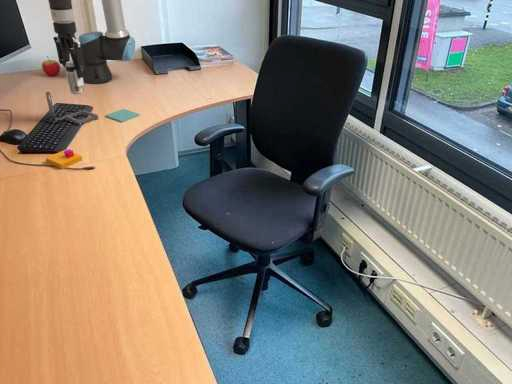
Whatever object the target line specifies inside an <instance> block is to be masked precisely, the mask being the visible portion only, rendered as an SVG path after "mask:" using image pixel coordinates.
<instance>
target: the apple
mask: <svg viewBox="0 0 512 384" xmlns="http://www.w3.org/2000/svg"><path fill="white" fill-rule="evenodd" d="M46 57H47V59H48V60H44V61H42V62H41V68H42V70H43V72H44V74H46V75H47V76H49V77H55V76H58V75H59V73H60V71H61V66H60V65H61V64H60V63H59V61H56V60H53V59H51V60H50V59H49V57H48V55H46Z"/></svg>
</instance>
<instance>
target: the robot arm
mask: <svg viewBox="0 0 512 384" xmlns="http://www.w3.org/2000/svg"><path fill="white" fill-rule="evenodd" d="M47 1H48V5H49V10H50V15H51V20H52V21H53V23H52V26H53V30H54V31H53V32H54V33H55V34H57V36H54V37H53V42H54V43H55V48H56V53H57V57H58V63H59V65H62V66H63V67H64V72H65V75H66V76H65V77H66V81H67V84H69V81H68V76H67V71H66V66H65V65H66V62H69V61H73V64H74V67H75V69H74V74H75V79H76V84H77V87H79V86H84V85H85V84H90V85H99V84H100V85H101V84H106V83H109V82H108V81H110V80H111V81H113V79H112V78H113V73H112V72H111V70H110V68H109V65H108V63H107V62H108V61H115V62H131V61H132V60H133V58H134V57H135V51H136V41H135V38H134V37H133V36H130V35H131V34H130V31H128V30H127V29H126V25H125V19H124V11H123V6H122V0H101V5H102V9H103V15H104V19H105V20H104V21H105V25H106V31H105V33H104V32H103V31H89V32H85V33H81V34H80V35H78V40H77V38H76V35H75V34H76V33H77V31H78V29H77V25H76V22H75V14H74V8H73V3H72V0H47ZM111 81H110V82H111Z"/></svg>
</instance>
